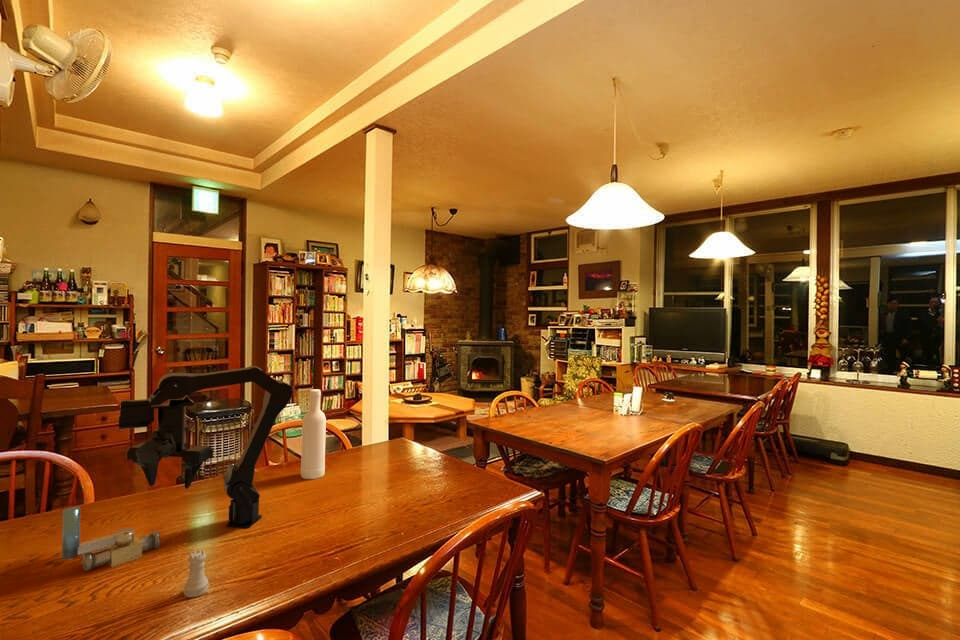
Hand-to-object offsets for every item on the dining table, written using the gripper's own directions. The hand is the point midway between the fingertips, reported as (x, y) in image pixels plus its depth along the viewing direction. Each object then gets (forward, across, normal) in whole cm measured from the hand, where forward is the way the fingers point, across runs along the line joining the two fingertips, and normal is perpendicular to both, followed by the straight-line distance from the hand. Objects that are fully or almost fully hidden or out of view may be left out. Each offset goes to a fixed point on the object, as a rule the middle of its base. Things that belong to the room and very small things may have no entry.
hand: (169, 486), depth 113 cm
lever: (+9, -6, -13) cm, 17 cm away
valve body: (+13, -4, -9) cm, 16 cm away
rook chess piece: (+13, +21, -19) cm, 31 cm away
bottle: (+13, +16, +47) cm, 51 cm away
